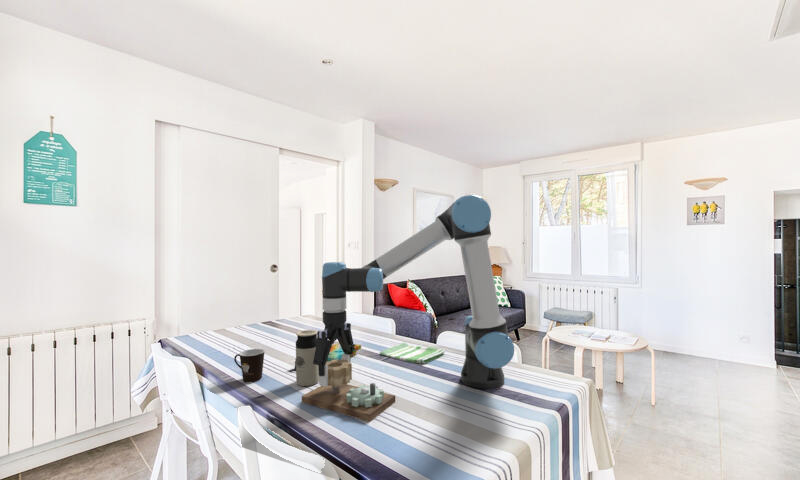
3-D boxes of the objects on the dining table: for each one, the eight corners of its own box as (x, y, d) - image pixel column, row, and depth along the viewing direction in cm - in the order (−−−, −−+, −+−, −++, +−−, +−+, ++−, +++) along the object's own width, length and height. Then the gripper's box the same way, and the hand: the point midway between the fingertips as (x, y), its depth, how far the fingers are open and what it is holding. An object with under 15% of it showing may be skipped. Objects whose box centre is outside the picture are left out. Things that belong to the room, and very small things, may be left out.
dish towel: (404, 346, 173) (404, 340, 173) (446, 355, 158) (445, 349, 158) (379, 356, 159) (379, 349, 159) (422, 366, 144) (422, 360, 144)
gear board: (395, 401, 112) (395, 382, 112) (370, 421, 100) (369, 400, 100) (331, 386, 125) (330, 369, 125) (301, 402, 113) (301, 383, 113)
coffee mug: (269, 378, 133) (268, 351, 133) (246, 385, 127) (245, 357, 127) (254, 371, 141) (254, 345, 141) (232, 377, 135) (232, 351, 135)
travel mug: (311, 376, 135) (311, 328, 135) (323, 382, 129) (322, 332, 129) (292, 382, 129) (291, 332, 129) (303, 388, 123) (302, 336, 124)
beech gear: (357, 377, 117) (357, 362, 117) (337, 389, 108) (337, 372, 108) (333, 372, 122) (333, 357, 122) (312, 382, 113) (312, 366, 113)
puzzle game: (311, 352, 149) (339, 340, 167) (311, 363, 149) (340, 350, 167) (334, 356, 144) (361, 343, 162) (334, 367, 144) (361, 353, 162)
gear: (390, 395, 111) (390, 379, 111) (370, 410, 102) (369, 393, 102) (361, 388, 117) (360, 373, 117) (339, 402, 107) (338, 385, 107)
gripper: (347, 303, 127) (348, 366, 127) (299, 315, 107) (300, 390, 107) (364, 305, 123) (365, 370, 123) (318, 318, 103) (319, 395, 103)
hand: (335, 379), depth 115 cm, fingers closed on beech gear, 10 cm apart
